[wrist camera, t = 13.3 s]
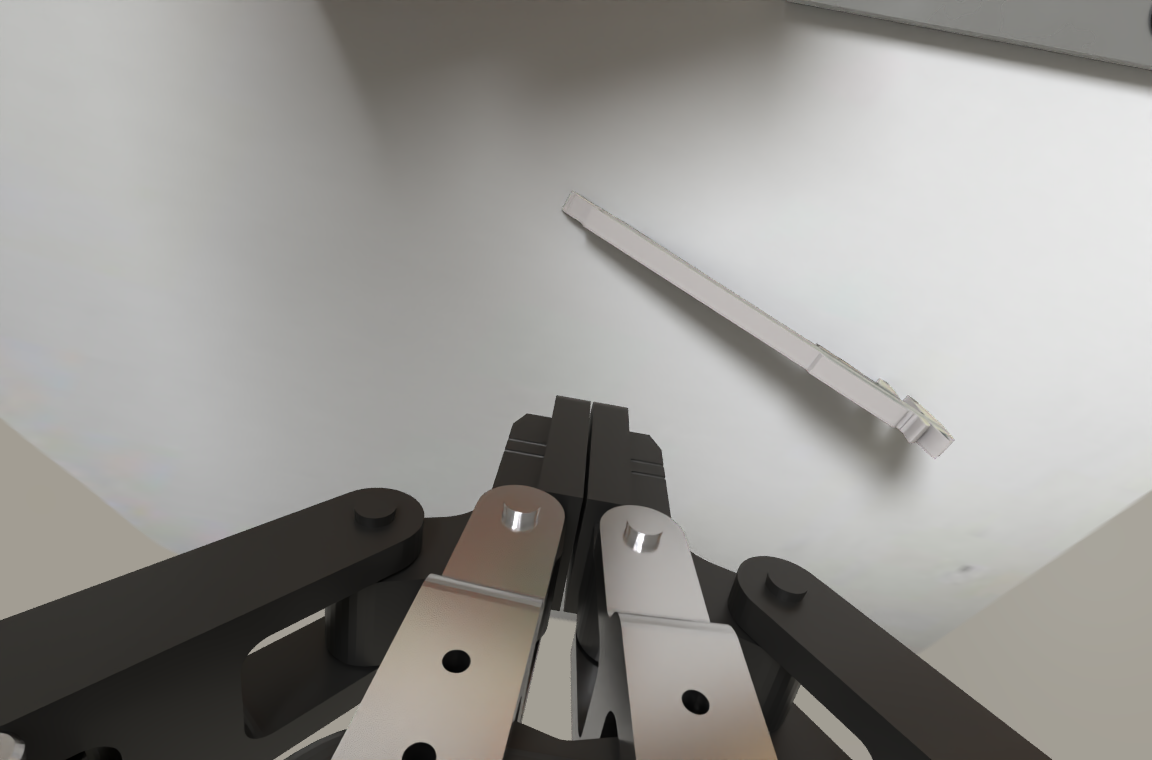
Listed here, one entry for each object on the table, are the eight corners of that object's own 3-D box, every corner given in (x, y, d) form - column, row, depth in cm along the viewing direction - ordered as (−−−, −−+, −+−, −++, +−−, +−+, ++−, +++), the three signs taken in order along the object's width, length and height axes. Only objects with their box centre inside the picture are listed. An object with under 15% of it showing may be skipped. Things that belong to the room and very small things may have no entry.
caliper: (914, 396, 32) (979, 456, 26) (899, 413, 32) (960, 475, 27) (572, 189, 29) (560, 204, 23) (561, 210, 30) (546, 229, 24)
